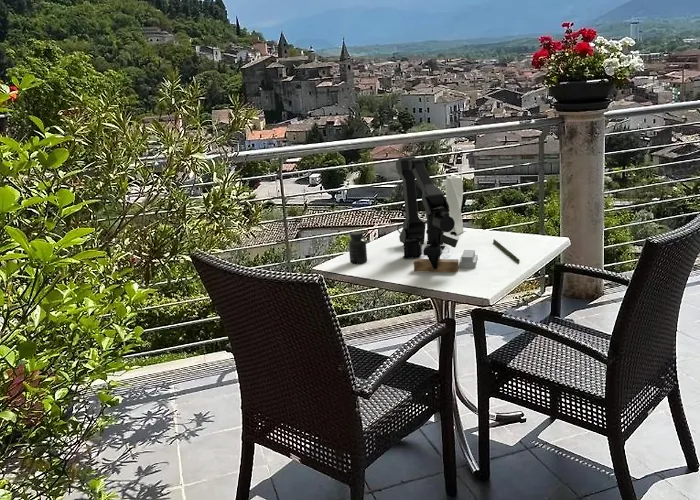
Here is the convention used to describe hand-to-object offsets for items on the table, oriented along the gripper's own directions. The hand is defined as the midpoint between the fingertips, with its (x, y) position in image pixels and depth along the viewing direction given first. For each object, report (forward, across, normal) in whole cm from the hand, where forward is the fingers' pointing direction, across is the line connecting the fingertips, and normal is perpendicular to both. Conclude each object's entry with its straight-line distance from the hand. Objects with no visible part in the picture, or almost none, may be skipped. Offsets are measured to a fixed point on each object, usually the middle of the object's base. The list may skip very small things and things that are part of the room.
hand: (436, 267), depth 250 cm
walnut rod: (+1, 0, 0) cm, 1 cm away
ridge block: (+1, +9, -11) cm, 14 cm away
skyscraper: (+2, +56, -1) cm, 56 cm away
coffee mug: (+1, +38, +15) cm, 41 cm away
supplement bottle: (+1, +9, +32) cm, 33 cm away
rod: (+2, +25, -24) cm, 35 cm away
